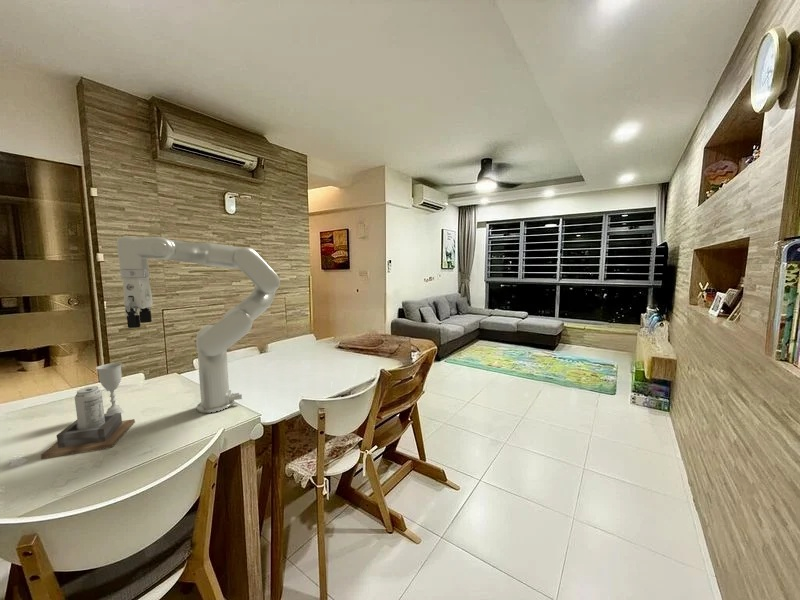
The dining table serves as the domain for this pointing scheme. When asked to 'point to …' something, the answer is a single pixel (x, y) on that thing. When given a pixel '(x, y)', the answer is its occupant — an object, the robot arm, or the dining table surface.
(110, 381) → the chalice
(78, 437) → the socket block
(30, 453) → the dining table surface
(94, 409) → the energy drink can
